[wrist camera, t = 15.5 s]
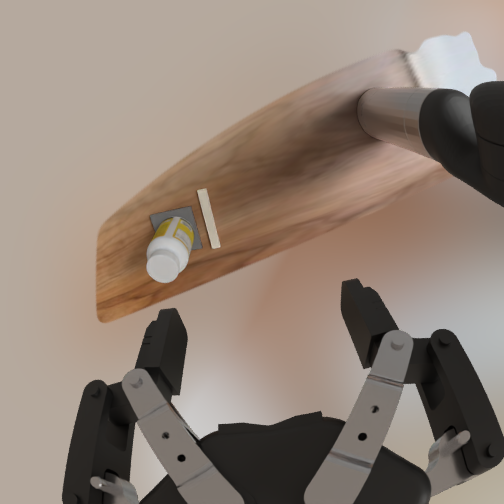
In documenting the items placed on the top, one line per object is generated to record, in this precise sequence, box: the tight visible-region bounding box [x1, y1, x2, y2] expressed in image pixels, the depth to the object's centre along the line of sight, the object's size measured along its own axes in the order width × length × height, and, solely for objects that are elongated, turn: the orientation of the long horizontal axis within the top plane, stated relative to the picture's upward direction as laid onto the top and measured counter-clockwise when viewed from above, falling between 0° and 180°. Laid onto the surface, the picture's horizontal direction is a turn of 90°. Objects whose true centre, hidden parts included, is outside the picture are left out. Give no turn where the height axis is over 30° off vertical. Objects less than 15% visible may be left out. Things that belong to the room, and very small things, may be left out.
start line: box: [197, 188, 221, 249], centre depth 46 cm, size 2×11×1 cm, turn 10°
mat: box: [150, 206, 202, 250], centre depth 46 cm, size 8×8×1 cm
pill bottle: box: [147, 217, 194, 283], centre depth 41 cm, size 6×6×12 cm
